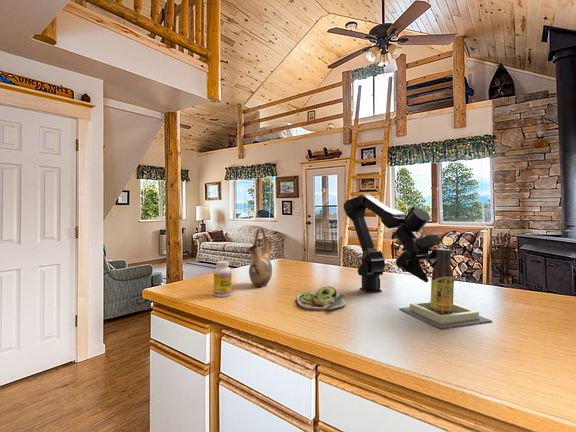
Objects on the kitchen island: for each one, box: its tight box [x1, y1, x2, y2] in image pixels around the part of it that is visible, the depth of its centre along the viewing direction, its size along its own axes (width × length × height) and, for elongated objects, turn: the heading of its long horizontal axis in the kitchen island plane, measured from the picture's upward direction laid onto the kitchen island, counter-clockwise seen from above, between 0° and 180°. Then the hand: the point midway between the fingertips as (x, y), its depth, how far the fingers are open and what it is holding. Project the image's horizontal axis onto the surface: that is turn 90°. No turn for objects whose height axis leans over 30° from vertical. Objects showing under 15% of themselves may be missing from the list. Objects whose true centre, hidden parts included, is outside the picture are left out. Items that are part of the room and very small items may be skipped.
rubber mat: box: [399, 306, 493, 330], centre depth 98 cm, size 18×18×1 cm
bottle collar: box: [409, 300, 480, 324], centre depth 98 cm, size 13×13×2 cm
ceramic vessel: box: [247, 227, 273, 288], centre depth 137 cm, size 16×9×25 cm, turn 153°
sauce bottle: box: [430, 248, 455, 315], centre depth 98 cm, size 7×6×20 cm
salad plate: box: [295, 286, 347, 311], centre depth 110 cm, size 19×18×5 cm
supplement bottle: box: [213, 260, 233, 298], centre depth 123 cm, size 7×7×13 cm
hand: (437, 280), depth 99 cm, fingers open, 9 cm apart
